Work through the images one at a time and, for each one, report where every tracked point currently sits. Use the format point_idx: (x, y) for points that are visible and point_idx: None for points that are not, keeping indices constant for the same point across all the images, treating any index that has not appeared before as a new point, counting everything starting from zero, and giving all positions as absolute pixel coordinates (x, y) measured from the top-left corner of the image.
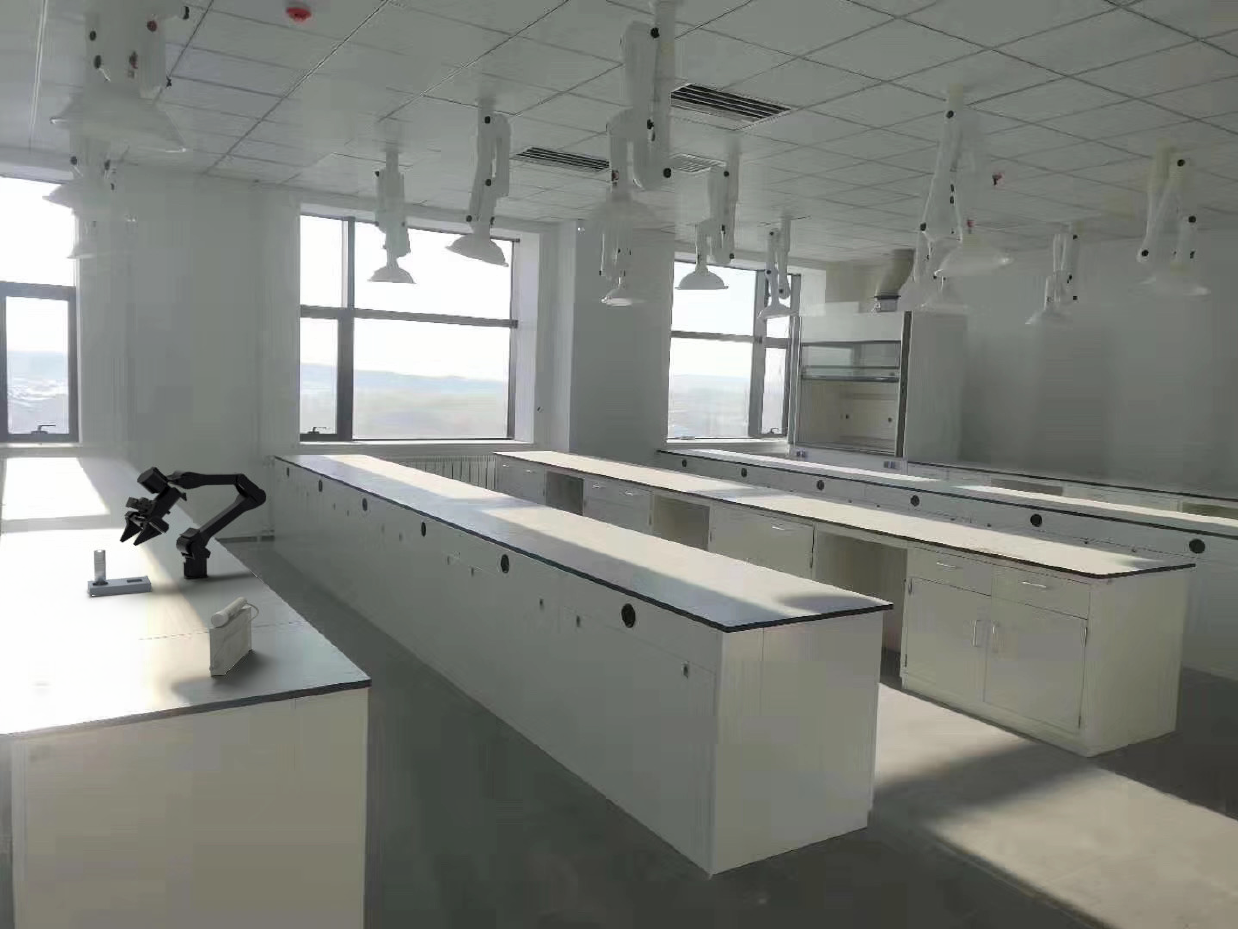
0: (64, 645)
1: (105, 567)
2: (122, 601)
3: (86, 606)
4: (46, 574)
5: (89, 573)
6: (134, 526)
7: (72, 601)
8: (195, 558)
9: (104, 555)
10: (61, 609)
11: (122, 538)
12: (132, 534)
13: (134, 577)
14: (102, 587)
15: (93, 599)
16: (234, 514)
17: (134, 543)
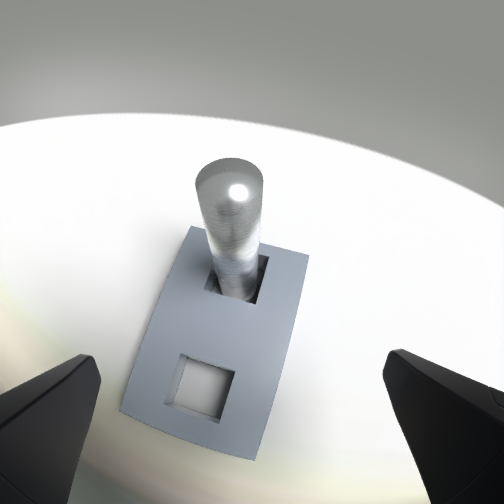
0: (6, 154)
1: (217, 256)
2: (83, 284)
3: (111, 206)
4: (497, 249)
5: (489, 329)
6: (495, 500)
7: (181, 197)
8: None
9: (203, 214)
10: (132, 167)
11: (402, 370)
12: (432, 468)
13: (263, 414)
14: (176, 259)
15: (160, 238)
16: None
17: (75, 360)
